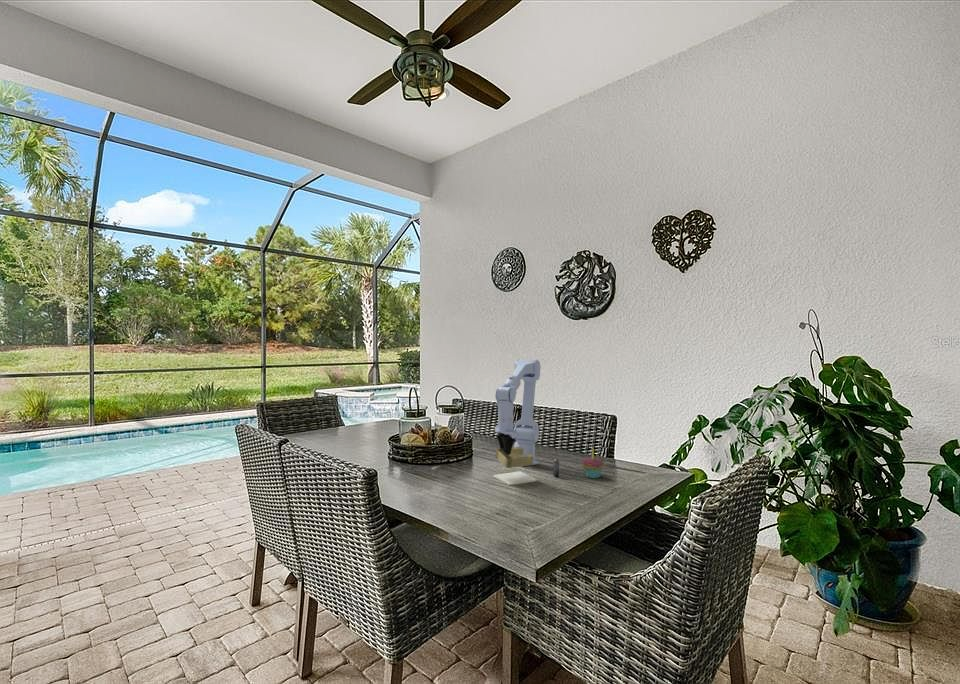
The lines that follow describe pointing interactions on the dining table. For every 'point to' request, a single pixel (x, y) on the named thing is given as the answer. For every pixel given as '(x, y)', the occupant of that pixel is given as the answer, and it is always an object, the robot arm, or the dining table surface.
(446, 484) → the dining table surface
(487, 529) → the dining table surface
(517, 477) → the coaster
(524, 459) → the c link
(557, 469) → the post
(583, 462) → the cupcake
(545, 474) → the dining table surface
